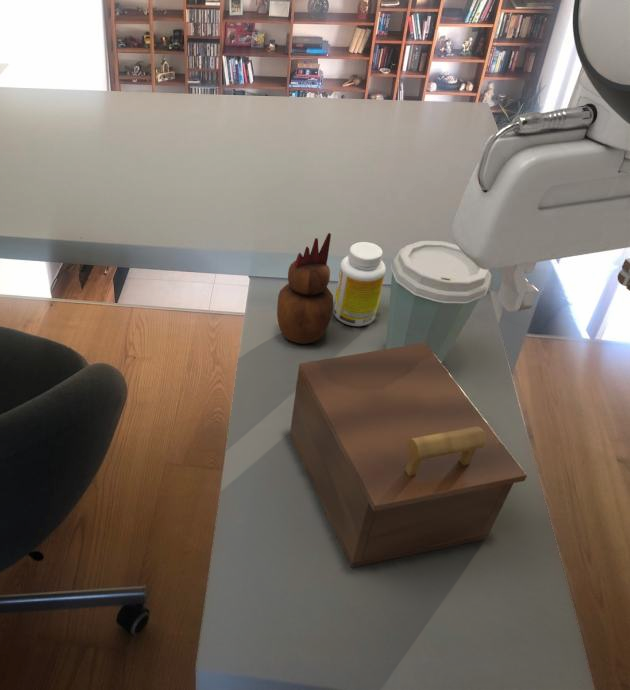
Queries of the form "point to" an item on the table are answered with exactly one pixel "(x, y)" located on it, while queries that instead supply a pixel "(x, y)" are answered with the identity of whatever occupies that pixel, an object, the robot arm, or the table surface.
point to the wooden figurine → (306, 296)
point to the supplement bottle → (359, 284)
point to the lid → (407, 427)
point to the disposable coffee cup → (432, 295)
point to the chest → (388, 524)
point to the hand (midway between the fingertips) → (573, 295)
